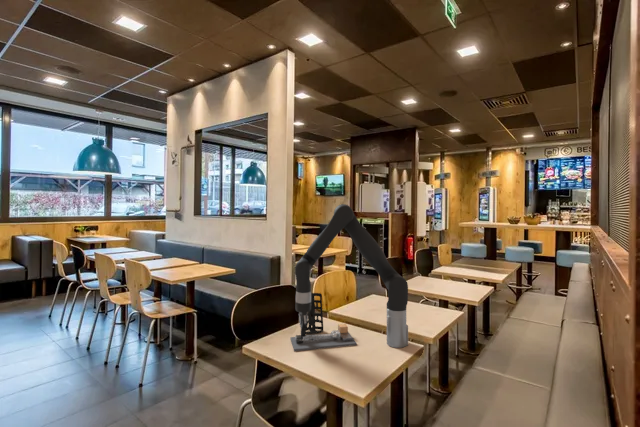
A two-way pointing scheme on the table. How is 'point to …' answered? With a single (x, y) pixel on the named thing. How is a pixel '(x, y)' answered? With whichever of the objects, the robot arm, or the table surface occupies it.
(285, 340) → the table surface
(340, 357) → the table surface
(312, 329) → the holder
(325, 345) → the tray
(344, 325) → the tab
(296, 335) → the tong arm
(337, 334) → the base
